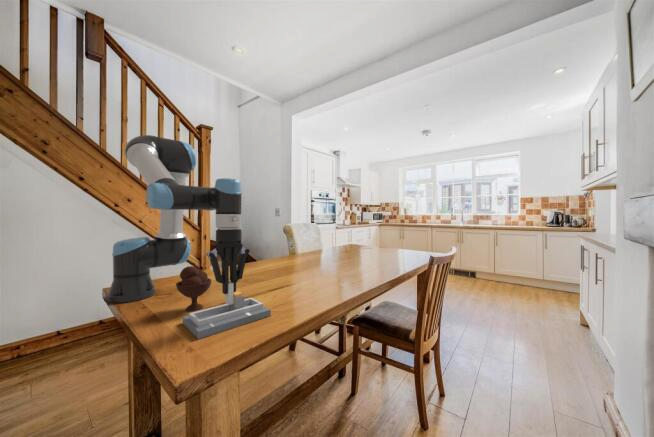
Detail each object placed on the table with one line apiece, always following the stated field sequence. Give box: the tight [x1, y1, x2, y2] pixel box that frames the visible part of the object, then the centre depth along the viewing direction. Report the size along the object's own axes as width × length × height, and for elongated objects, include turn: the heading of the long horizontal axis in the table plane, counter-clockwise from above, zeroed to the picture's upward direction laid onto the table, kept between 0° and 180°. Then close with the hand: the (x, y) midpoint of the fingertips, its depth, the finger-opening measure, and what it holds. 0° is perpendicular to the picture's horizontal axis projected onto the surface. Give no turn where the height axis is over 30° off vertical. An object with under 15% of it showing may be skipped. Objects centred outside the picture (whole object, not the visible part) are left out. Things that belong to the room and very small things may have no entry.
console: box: [182, 297, 272, 340], centre depth 79 cm, size 14×22×4 cm, turn 135°
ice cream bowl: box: [175, 265, 212, 313], centre depth 89 cm, size 11×11×15 cm
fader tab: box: [228, 290, 245, 311], centre depth 81 cm, size 5×3×6 cm, turn 45°
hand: (229, 303), depth 80 cm, fingers closed
